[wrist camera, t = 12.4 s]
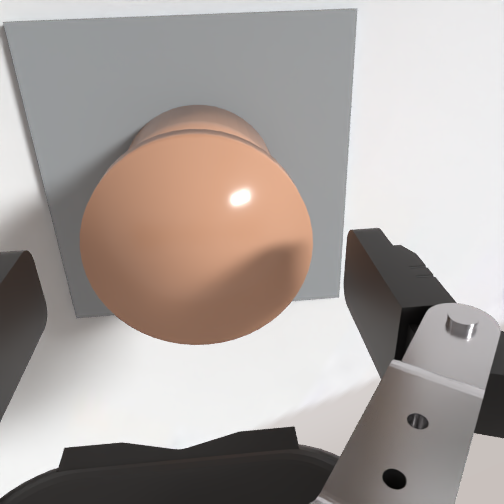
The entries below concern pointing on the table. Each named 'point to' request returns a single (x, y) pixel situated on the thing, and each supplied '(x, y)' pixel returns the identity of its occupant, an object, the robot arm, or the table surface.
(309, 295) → the gray square base plate
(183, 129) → the peach round knob
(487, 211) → the table surface
